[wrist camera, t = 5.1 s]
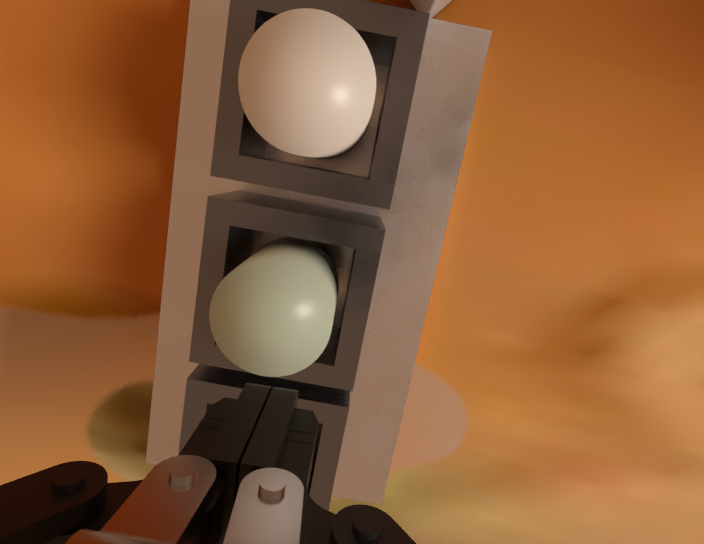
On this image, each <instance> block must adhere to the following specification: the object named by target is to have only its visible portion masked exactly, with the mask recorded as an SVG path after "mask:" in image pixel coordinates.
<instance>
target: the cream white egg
mask: <svg viewBox="0 0 704 544" xmlns="http://www.w3.org/2000/svg"><path fill="white" fill-rule="evenodd" d="M238 89H239V95H240V100H241V104H242V107H243V110H244V112H245V114H246V116H247V118H248V120H249V121H250V123H251V125H252V126H253V127H254V129H255V130H256V131H257V133H258V134H259V135H260V136H261V137H263V138H264V139H265V140H266V141H267V142H269V143H270V144H271V145H273V146H275V147H276V148H278V149H280V150H282V151H285V152H287V153H291V154H295V155H299V156H304V157H309V158H315V159H327V158H333V157H336V156H339V155H341V154H344V153H345V152H347V151H349V150H350V149H351V148H353V147H354V146H355V145H356V144H357V143H358V142H359V141H360V140H361V138H362V137H363V135H364V134H365V132H366V130H367V128H368V125H369V123H370V119H371V115H372V110H373V105H374V101H375V94H376V72H375V67H374V63H373V59H372V56H371V54H370V51H369V49H368V47H367V45H366V44H365V42H364V40H363V39H362V38H361V36H360V35H359V34H358V32H357V31H356V30H355V29H354V28H353V27H352V26H351V25H349V24H348V23H347V22H346V21H344V20H343V19H341V18H339V17H338V16H336V15H334V14H331V13H329V12H326V11H323V10H319V9H312V8H299V9H293V10H289V11H286V12H283V13H280V14H278V15H276V16H274V17H272V18H271V19H270V20H268V21H267V22H265V23H264V24H263V25H262V26H261V27H260V28H259V29H258V30H257V31H256V32H255V33H254V34H253V36H252V37H251V39H250V40H249V42H248V44H247V46H246V48H245V50H244V52H243V55H242V58H241V61H240V66H239V72H238Z"/></svg>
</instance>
